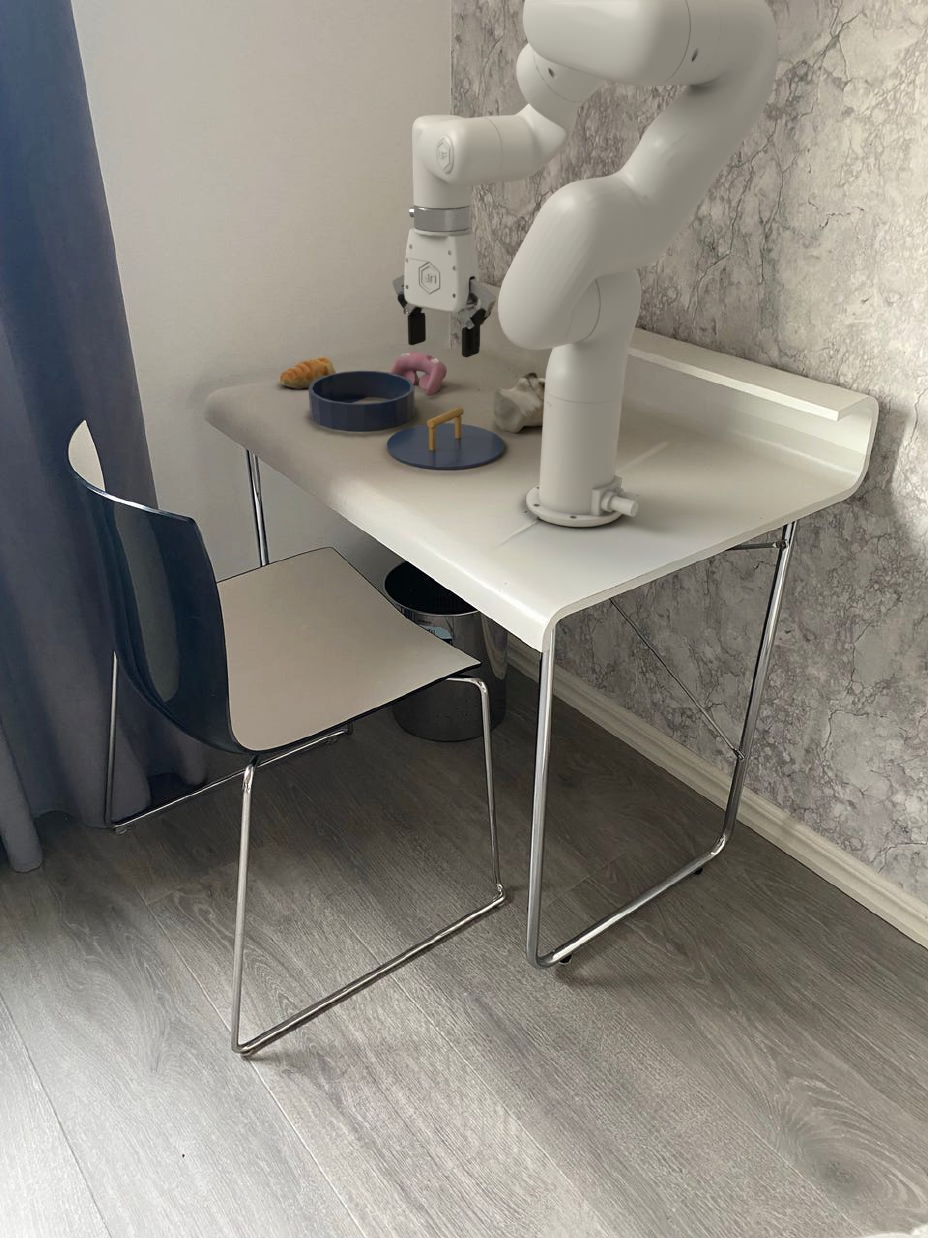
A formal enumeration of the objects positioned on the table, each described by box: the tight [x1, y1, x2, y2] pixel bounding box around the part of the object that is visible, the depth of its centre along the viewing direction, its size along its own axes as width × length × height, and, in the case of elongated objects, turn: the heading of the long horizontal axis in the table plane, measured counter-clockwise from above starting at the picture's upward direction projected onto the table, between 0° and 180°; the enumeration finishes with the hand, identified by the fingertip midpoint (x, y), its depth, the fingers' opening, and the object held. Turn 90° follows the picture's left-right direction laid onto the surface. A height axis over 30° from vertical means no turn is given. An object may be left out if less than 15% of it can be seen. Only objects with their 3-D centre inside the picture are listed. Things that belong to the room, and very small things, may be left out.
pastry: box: [279, 356, 337, 390], centre depth 170 cm, size 9×7×4 cm
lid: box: [386, 406, 505, 471], centre depth 144 cm, size 17×17×6 cm
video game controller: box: [387, 351, 448, 396], centre depth 168 cm, size 10×5×7 cm, turn 58°
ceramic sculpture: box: [492, 372, 545, 434], centre depth 152 cm, size 11×9×15 cm
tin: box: [308, 370, 416, 433], centre depth 156 cm, size 16×16×5 cm
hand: (443, 348), depth 141 cm, fingers open, 9 cm apart
